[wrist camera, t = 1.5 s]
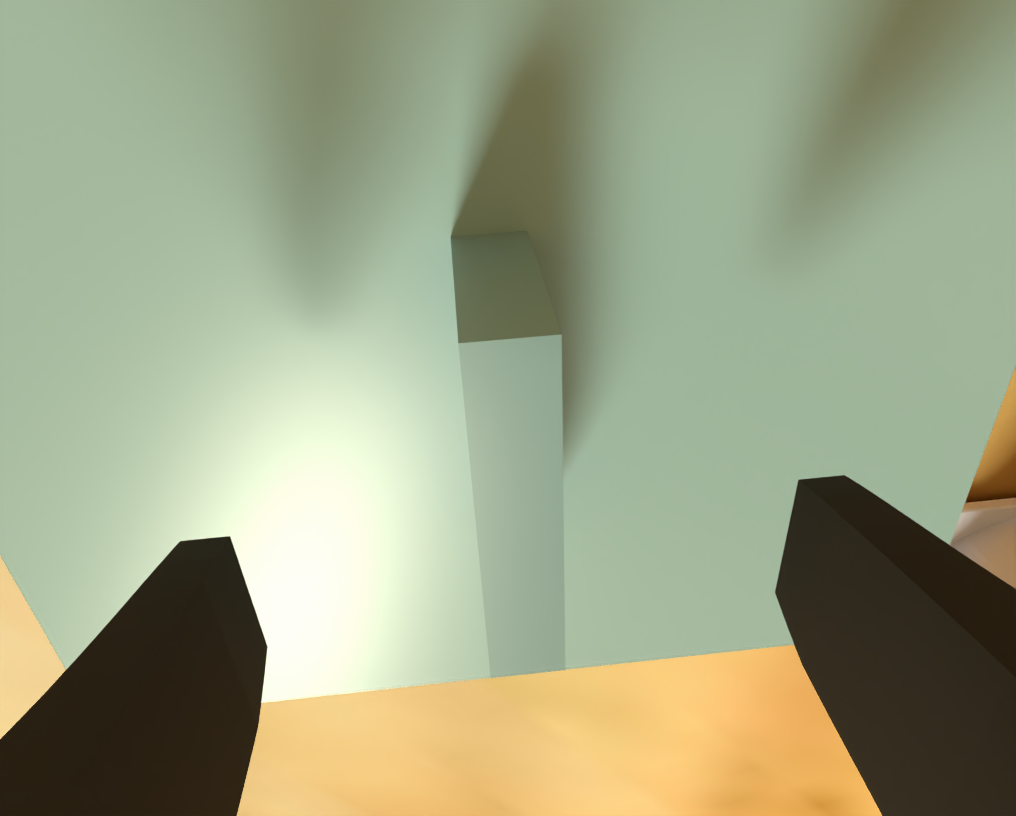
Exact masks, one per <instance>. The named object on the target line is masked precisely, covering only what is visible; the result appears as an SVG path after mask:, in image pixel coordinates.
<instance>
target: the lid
mask: <svg viewBox="0 0 1016 816" xmlns="http://www.w3.org/2000/svg"><path fill="white" fill-rule="evenodd" d="M1015 366H1016V0H0V556H1V558H2V560H3V561H4V563H5V565H6V567H7V568H8V570H9V572H10V574H11V575H12V577H13V579H14V580H15V582H16V584H17V586H18V587H19V589H20V591H21V593H22V594H23V596H24V598H25V600H26V601H27V603H28V605H29V607H30V608H31V610H32V612H33V614H34V615H35V617H36V619H37V621H38V622H39V624H40V626H41V627H42V629H43V631H44V633H45V634H46V636H47V638H48V640H49V641H50V643H51V645H52V647H53V648H54V650H55V652H56V654H57V655H58V657H59V659H60V661H61V662H62V664H63V666H64V667H65V669H66V670H67V668H68V667H69V666H70V665H71V664H72V663H73V662H74V661H75V660H76V658H77V657H78V656H79V655H80V654H81V653H82V652H83V651H84V650H85V649H86V647H87V646H88V645H89V644H90V643H91V642H92V641H93V640H94V639H95V637H96V636H97V635H98V634H99V633H100V632H101V631H102V629H103V628H104V627H105V626H106V625H107V624H108V623H109V621H110V620H111V619H112V618H113V617H114V616H115V615H116V613H117V612H118V611H119V610H120V609H121V608H122V607H123V605H124V604H125V603H126V602H127V601H128V600H129V598H130V597H131V596H132V595H133V594H134V593H135V592H136V590H137V589H138V588H139V587H140V586H141V585H142V583H143V582H144V581H145V580H146V579H147V578H148V577H149V575H150V574H151V573H152V572H153V571H154V570H155V569H156V568H157V566H158V565H159V564H160V563H161V562H162V561H163V560H164V558H165V557H166V556H167V555H168V554H169V553H170V552H171V551H172V550H173V548H174V547H175V546H176V545H177V544H178V543H179V542H180V541H186V540H196V539H206V538H216V537H226V536H230V537H231V540H232V543H233V546H234V549H235V552H236V555H237V558H238V561H239V564H240V567H241V570H242V573H243V576H244V579H245V582H246V585H247V587H248V590H249V593H250V596H251V599H252V602H253V605H254V608H255V611H256V614H257V617H258V620H259V623H260V626H261V629H262V632H263V635H264V638H265V640H266V643H267V646H268V648H267V657H266V666H265V675H264V684H263V693H262V700H261V703H263V702H272V701H281V700H290V699H300V698H309V697H318V696H327V695H336V694H345V693H355V692H364V691H373V690H382V689H391V688H401V687H410V686H419V685H428V684H437V683H447V682H456V681H465V680H474V679H483V678H496V677H505V676H514V675H523V674H532V673H542V672H551V671H560V670H566V669H575V668H584V667H593V666H603V665H612V664H621V663H630V662H639V661H649V660H658V659H667V658H676V657H685V656H694V655H704V654H713V653H722V652H731V651H740V650H750V649H759V648H768V647H777V646H786V645H794V642H793V640H792V637H791V635H790V632H789V630H788V627H787V624H786V621H785V619H784V616H783V613H782V610H781V608H780V605H779V602H778V600H777V597H776V594H775V589H776V585H777V580H778V575H779V570H780V565H781V561H782V556H783V551H784V546H785V541H786V536H787V532H788V527H789V522H790V517H791V512H792V508H793V503H794V498H795V493H796V488H797V484H798V480H800V479H810V478H820V477H830V476H840V475H845V476H847V477H849V478H850V479H852V480H853V481H855V482H857V483H858V484H860V485H861V486H863V487H864V488H866V489H868V490H869V491H871V492H872V493H874V494H875V495H877V496H878V497H880V498H881V499H883V500H884V501H886V502H887V503H889V504H890V505H891V506H893V507H894V508H896V509H897V510H899V511H900V512H902V513H903V514H905V515H906V516H908V517H909V518H911V519H912V520H914V521H915V522H916V523H918V524H919V525H921V526H922V527H924V528H925V529H927V530H928V531H930V532H931V533H933V534H934V535H936V536H937V537H939V538H940V539H941V540H943V541H944V542H946V543H947V544H949V545H950V542H951V539H952V537H953V534H954V531H955V529H956V526H957V523H958V520H959V518H960V515H961V512H962V510H963V507H964V504H965V502H966V499H967V496H968V493H969V491H970V488H971V485H972V483H973V480H974V477H975V474H976V472H977V469H978V466H979V464H980V461H981V458H982V456H983V453H984V450H985V447H986V445H987V442H988V439H989V437H990V434H991V431H992V428H993V426H994V423H995V420H996V418H997V415H998V412H999V410H1000V407H1001V404H1002V401H1003V399H1004V396H1005V393H1006V391H1007V388H1008V385H1009V382H1010V380H1011V377H1012V374H1013V372H1014V369H1015Z"/></svg>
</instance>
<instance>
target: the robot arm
mask: <svg viewBox="0 0 1016 816" xmlns="http://www.w3.org/2000/svg"><path fill="white" fill-rule="evenodd" d="M775 594H776V597H777V600H778V602H779V605H780V608H781V610H782V613H783V616H784V619H785V621H786V624H787V627H788V630H789V632H790V635H791V637H792V640H793V642H794V645H795V647H796V650H797V652H798V655H799V657H800V660H801V662H802V665H803V667H804V669H805V671H806V673H807V675H808V677H809V679H810V680H811V682H812V684H813V686H814V688H815V690H816V692H817V694H818V696H819V698H820V700H821V701H822V703H823V705H824V707H825V709H826V711H827V713H828V715H829V717H830V719H831V720H832V722H833V724H834V726H835V728H836V730H837V732H838V734H839V735H840V737H841V739H842V741H843V743H844V745H845V747H846V748H847V750H848V752H849V754H850V756H851V758H852V760H853V761H854V763H855V765H856V767H857V769H858V771H859V773H860V775H861V776H862V778H863V780H864V782H865V784H866V786H867V788H868V789H869V791H870V793H871V795H872V797H873V799H874V801H875V802H876V804H877V806H878V808H879V810H880V812H881V814H882V816H1016V498H1008V499H998V500H988V501H978V502H968V503H965V504H964V507H963V510H962V512H961V515H960V518H959V520H958V523H957V526H956V529H955V531H954V534H953V537H952V539H951V542H950V545H949V544H947V543H946V542H944V541H943V540H941V539H940V538H939V537H937V536H936V535H934V534H933V533H931V532H930V531H928V530H927V529H925V528H924V527H922V526H921V525H919V524H918V523H916V522H915V521H914V520H912V519H911V518H909V517H908V516H906V515H905V514H903V513H902V512H900V511H899V510H897V509H896V508H894V507H893V506H891V505H890V504H889V503H887V502H886V501H884V500H883V499H881V498H880V497H878V496H877V495H875V494H874V493H872V492H871V491H869V490H868V489H866V488H864V487H863V486H861V485H860V484H858V483H857V482H855V481H853V480H852V479H850V478H849V477H847V476H845V475H840V476H830V477H820V478H810V479H800V480H798V484H797V488H796V493H795V498H794V503H793V508H792V512H791V517H790V522H789V527H788V532H787V536H786V541H785V546H784V551H783V556H782V561H781V565H780V570H779V575H778V580H777V585H776V589H775ZM267 648H268V646H267V643H266V640H265V638H264V635H263V632H262V629H261V626H260V623H259V620H258V617H257V614H256V611H255V608H254V605H253V602H252V599H251V596H250V593H249V590H248V587H247V585H246V582H245V579H244V576H243V573H242V570H241V567H240V564H239V561H238V558H237V555H236V552H235V549H234V546H233V543H232V540H231V537H230V536H226V537H216V538H206V539H196V540H186V541H180V542H179V543H178V544H177V545H176V546H175V547H174V548H173V550H172V551H171V552H170V553H169V554H168V555H167V556H166V557H165V558H164V560H163V561H162V562H161V563H160V564H159V565H158V566H157V568H156V569H155V570H154V571H153V572H152V573H151V574H150V575H149V577H148V578H147V579H146V580H145V581H144V582H143V583H142V585H141V586H140V587H139V588H138V589H137V590H136V592H135V593H134V594H133V595H132V596H131V597H130V598H129V600H128V601H127V602H126V603H125V604H124V605H123V607H122V608H121V609H120V610H119V611H118V612H117V613H116V615H115V616H114V617H113V618H112V619H111V620H110V621H109V623H108V624H107V625H106V626H105V627H104V628H103V629H102V631H101V632H100V633H99V634H98V635H97V636H96V637H95V639H94V640H93V641H92V642H91V643H90V644H89V645H88V646H87V647H86V649H85V650H84V651H83V652H82V653H81V654H80V655H79V656H78V657H77V658H76V660H75V661H74V662H73V663H72V664H71V665H70V666H69V667H68V668H67V670H66V671H65V672H64V673H63V674H62V675H61V676H60V677H59V678H58V680H57V681H56V682H55V683H54V684H53V685H52V686H51V687H50V688H49V690H48V691H47V692H46V693H45V694H44V695H43V696H42V697H41V698H40V699H39V700H38V701H37V702H36V703H35V704H34V705H33V706H32V707H31V708H30V709H29V710H28V711H27V713H26V714H25V715H24V716H23V717H22V718H21V719H20V720H19V721H18V722H17V723H16V724H15V725H14V726H13V727H12V728H11V729H10V730H9V731H8V732H7V733H6V734H5V735H4V736H3V737H2V738H1V739H0V816H237V812H238V808H239V804H240V800H241V795H242V791H243V787H244V783H245V779H246V775H247V771H248V767H249V762H250V758H251V754H252V750H253V746H254V741H255V737H256V733H257V728H258V723H259V715H260V708H261V700H262V693H263V684H264V675H265V666H266V657H267Z"/></svg>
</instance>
